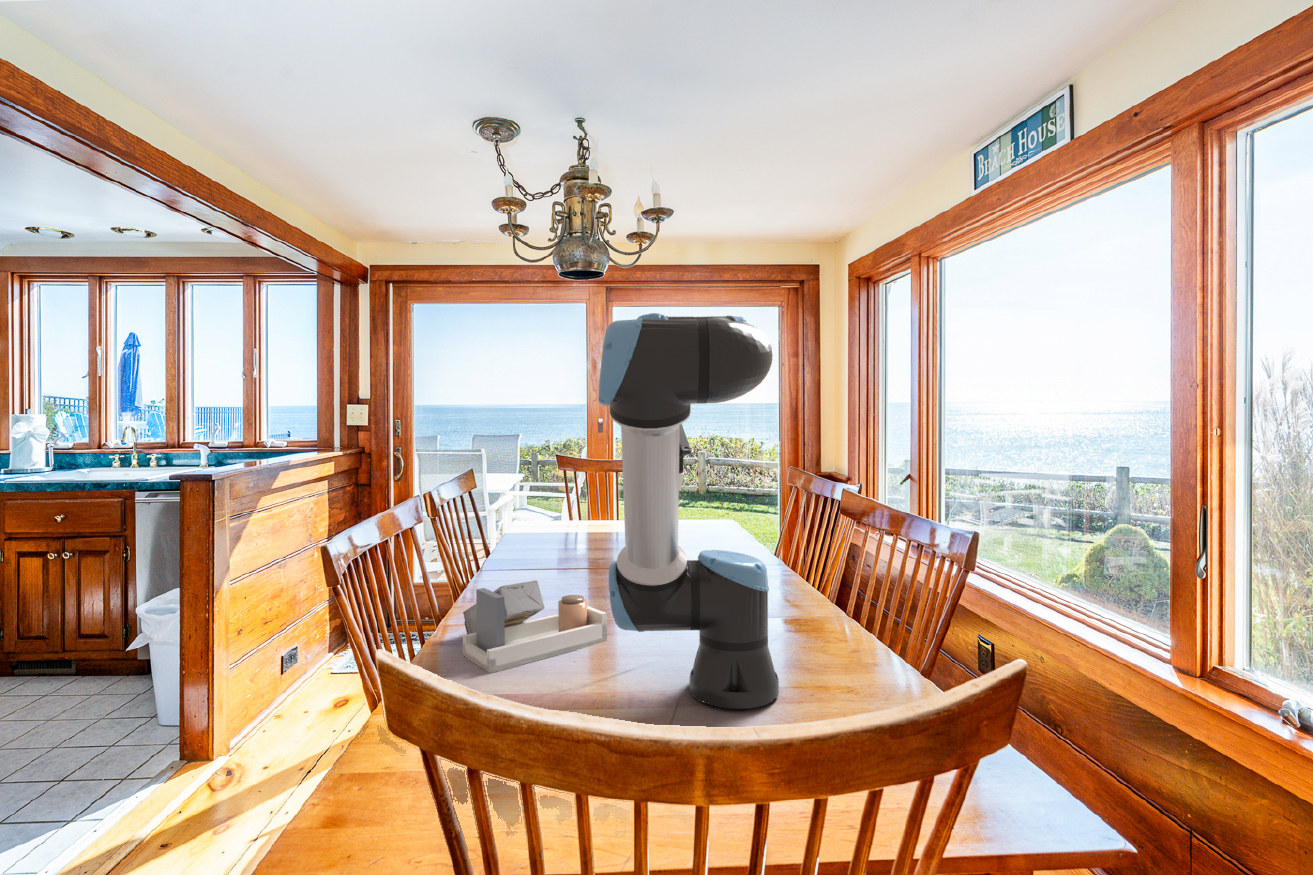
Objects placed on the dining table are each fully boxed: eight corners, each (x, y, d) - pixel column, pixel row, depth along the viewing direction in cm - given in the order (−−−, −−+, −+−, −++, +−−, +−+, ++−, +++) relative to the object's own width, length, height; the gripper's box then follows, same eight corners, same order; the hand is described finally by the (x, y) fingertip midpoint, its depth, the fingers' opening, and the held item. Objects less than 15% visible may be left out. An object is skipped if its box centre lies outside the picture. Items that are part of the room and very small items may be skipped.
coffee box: (545, 609, 128) (506, 633, 137) (537, 579, 130) (499, 604, 139) (506, 617, 121) (468, 641, 131) (498, 585, 123) (461, 611, 133)
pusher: (504, 658, 117) (504, 596, 117) (496, 661, 116) (496, 598, 116) (484, 646, 124) (484, 587, 124) (476, 648, 123) (476, 589, 123)
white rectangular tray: (607, 641, 131) (606, 613, 130) (489, 673, 114) (489, 640, 114) (575, 628, 140) (575, 601, 140) (463, 655, 123) (462, 625, 123)
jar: (592, 635, 132) (592, 598, 132) (568, 641, 128) (568, 603, 128) (577, 628, 136) (576, 592, 136) (553, 634, 133) (552, 597, 133)
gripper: (707, 385, 128) (708, 489, 128) (631, 391, 147) (632, 482, 147) (680, 383, 123) (681, 492, 123) (605, 390, 142) (606, 484, 142)
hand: (654, 487), depth 135 cm, fingers open, 13 cm apart
